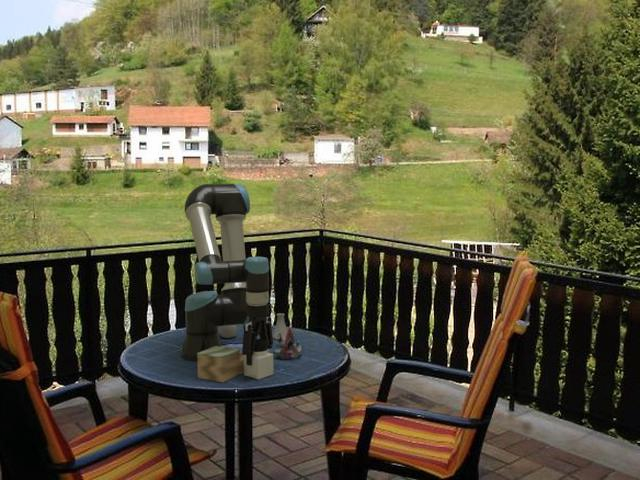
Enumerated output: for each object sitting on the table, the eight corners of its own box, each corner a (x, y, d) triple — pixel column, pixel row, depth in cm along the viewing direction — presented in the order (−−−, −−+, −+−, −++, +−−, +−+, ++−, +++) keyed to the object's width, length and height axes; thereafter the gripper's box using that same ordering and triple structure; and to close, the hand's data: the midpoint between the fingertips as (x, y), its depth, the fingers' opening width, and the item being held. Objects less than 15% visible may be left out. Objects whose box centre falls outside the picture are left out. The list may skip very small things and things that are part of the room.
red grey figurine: (302, 355, 228) (282, 328, 229) (279, 371, 231) (259, 344, 232) (311, 347, 239) (292, 321, 240) (288, 363, 242) (270, 337, 243)
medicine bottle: (273, 374, 214) (273, 339, 213) (258, 379, 209) (257, 343, 207) (259, 370, 219) (258, 336, 217) (243, 375, 213) (243, 340, 212)
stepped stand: (197, 377, 211) (197, 353, 210) (232, 362, 228) (232, 339, 228) (222, 382, 206) (222, 356, 205) (256, 365, 224) (256, 342, 223)
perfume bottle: (229, 340, 258) (229, 311, 257) (210, 337, 263) (210, 309, 262) (240, 336, 264) (240, 308, 263) (222, 333, 269) (221, 305, 268)
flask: (293, 337, 263) (292, 313, 262) (283, 341, 257) (282, 316, 256) (278, 335, 267) (278, 311, 266) (268, 338, 261) (268, 314, 260)
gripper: (249, 310, 200) (250, 381, 203) (283, 299, 219) (283, 364, 221) (229, 308, 204) (230, 377, 206) (264, 297, 222) (265, 361, 225)
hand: (258, 370), depth 214 cm, fingers closed on medicine bottle, 8 cm apart
